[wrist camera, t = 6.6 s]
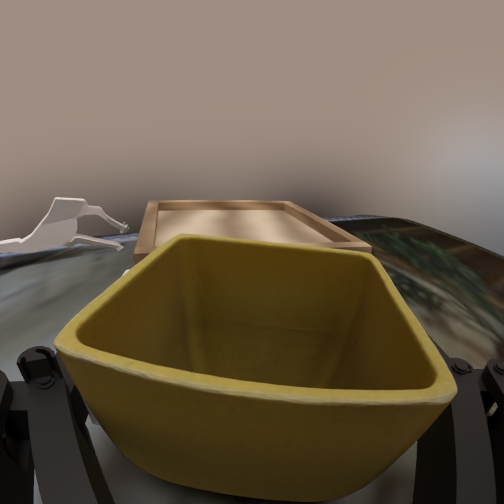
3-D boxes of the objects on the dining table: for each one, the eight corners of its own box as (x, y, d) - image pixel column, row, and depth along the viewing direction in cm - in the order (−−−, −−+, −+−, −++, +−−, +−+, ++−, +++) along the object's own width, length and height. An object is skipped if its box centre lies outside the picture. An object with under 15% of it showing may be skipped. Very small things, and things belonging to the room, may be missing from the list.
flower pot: (185, 377, 16) (177, 228, 13) (333, 396, 15) (374, 249, 12) (129, 502, 8) (42, 340, 5) (341, 533, 7) (467, 396, 4)
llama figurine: (106, 292, 37) (-16, 266, 25) (130, 213, 36) (2, 173, 24) (109, 298, 36) (-19, 271, 23) (134, 216, 35) (0, 175, 22)
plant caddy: (284, 244, 41) (289, 201, 39) (357, 310, 25) (372, 246, 23) (150, 247, 36) (149, 200, 34) (142, 331, 20) (133, 253, 18)
